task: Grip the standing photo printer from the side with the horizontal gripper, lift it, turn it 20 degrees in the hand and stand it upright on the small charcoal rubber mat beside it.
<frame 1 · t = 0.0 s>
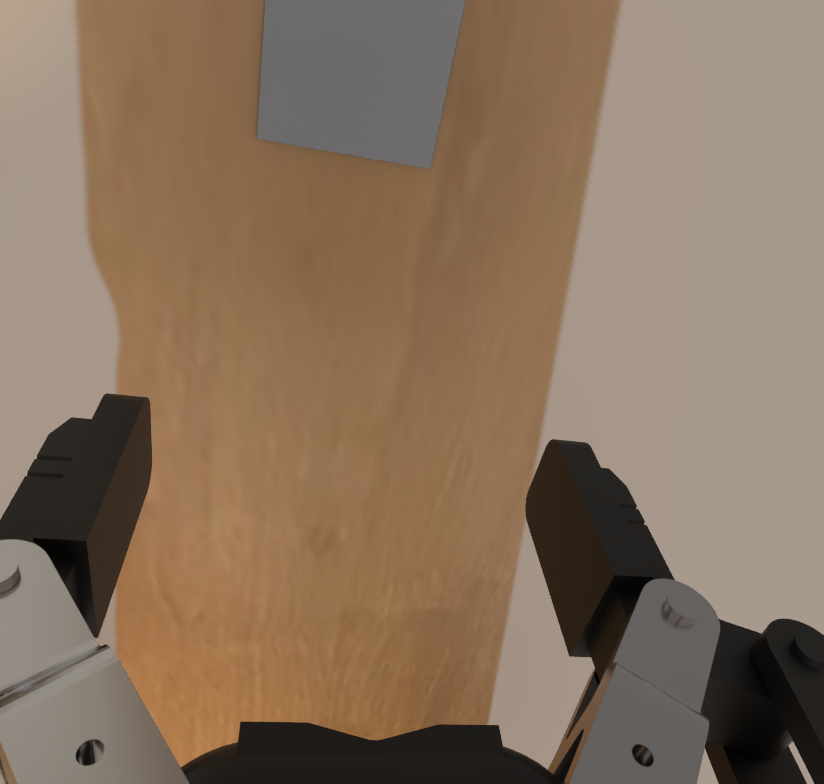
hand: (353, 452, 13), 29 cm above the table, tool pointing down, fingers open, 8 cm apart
rubber mat: (361, 37, 35), on the table
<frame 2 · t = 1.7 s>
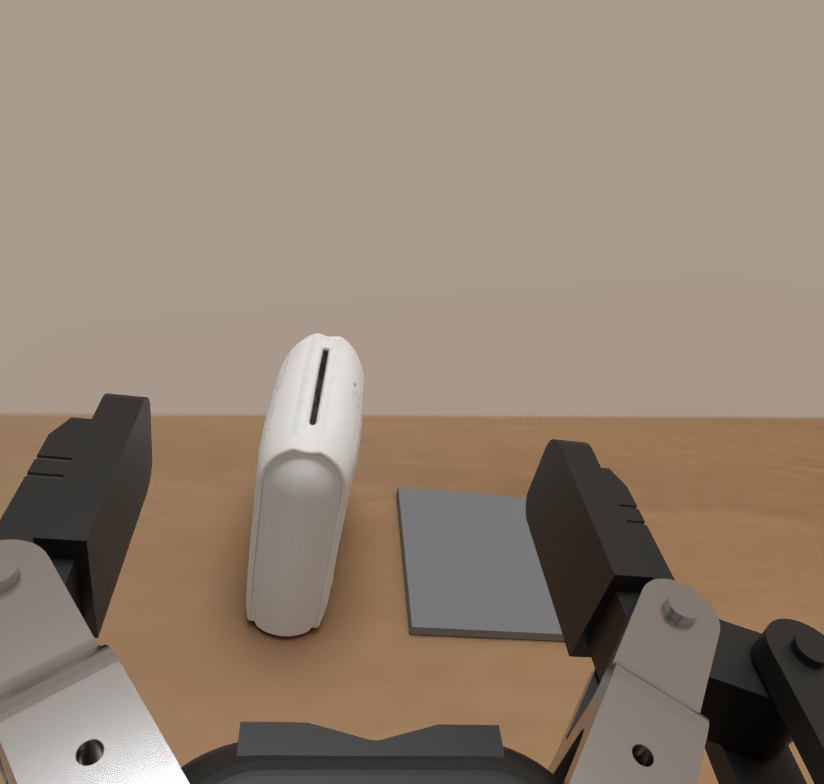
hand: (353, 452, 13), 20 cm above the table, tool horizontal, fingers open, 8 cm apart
rubber mat: (503, 563, 38), on the table
photo printer: (294, 559, 36), on the table
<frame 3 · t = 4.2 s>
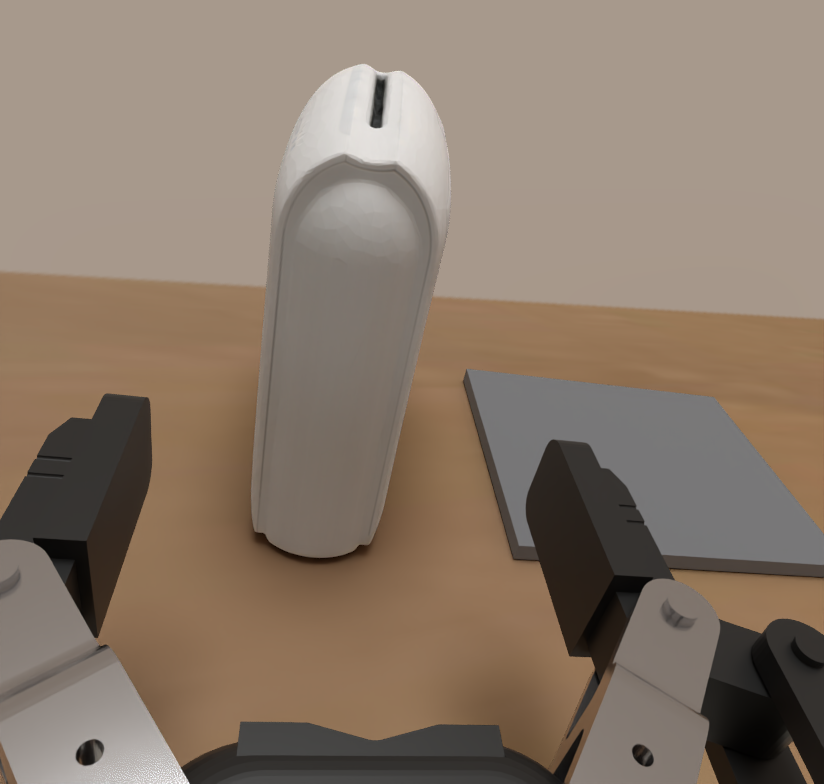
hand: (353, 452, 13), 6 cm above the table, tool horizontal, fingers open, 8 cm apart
rubber mat: (630, 467, 26), on the table
photo printer: (323, 454, 23), on the table
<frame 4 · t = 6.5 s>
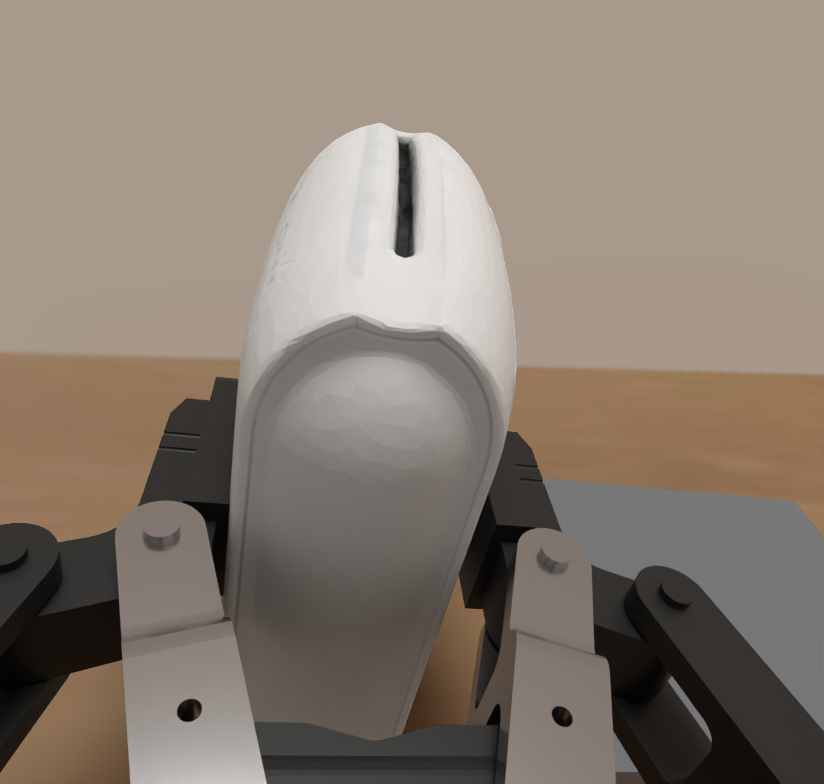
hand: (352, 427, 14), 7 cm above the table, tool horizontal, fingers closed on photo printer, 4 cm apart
rubber mat: (706, 613, 20), on the table
photo printer: (318, 613, 18), on the table, touching gripper
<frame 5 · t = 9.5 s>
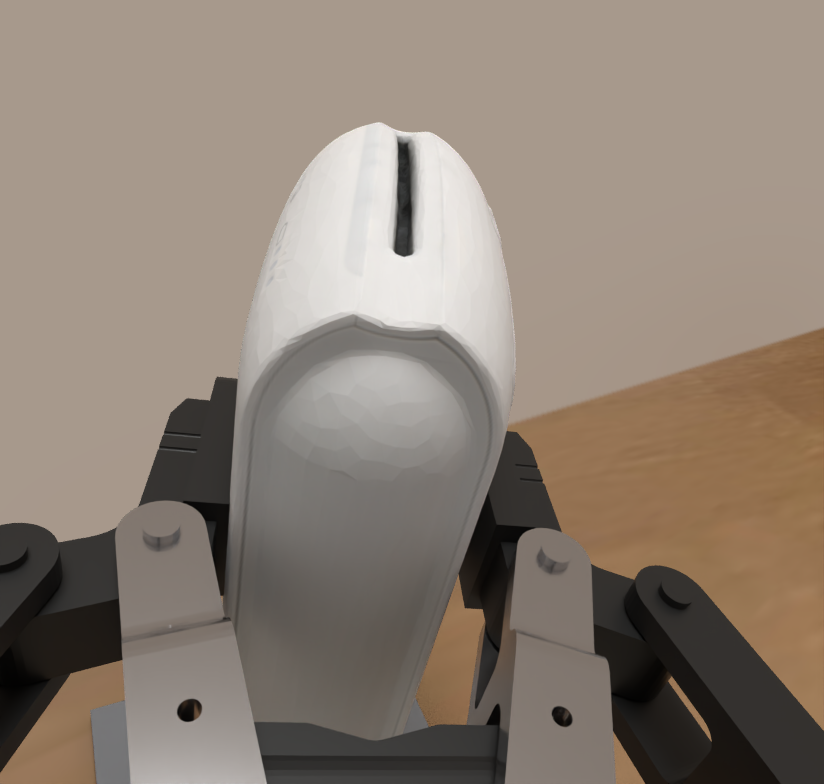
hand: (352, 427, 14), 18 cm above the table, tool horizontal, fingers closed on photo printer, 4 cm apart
photo printer: (319, 612, 18), point 11 cm above the table, touching gripper
when the fingers open (8 cm above the table, at t = 12.6 s): photo printer stays where it is, resting on rubber mat.
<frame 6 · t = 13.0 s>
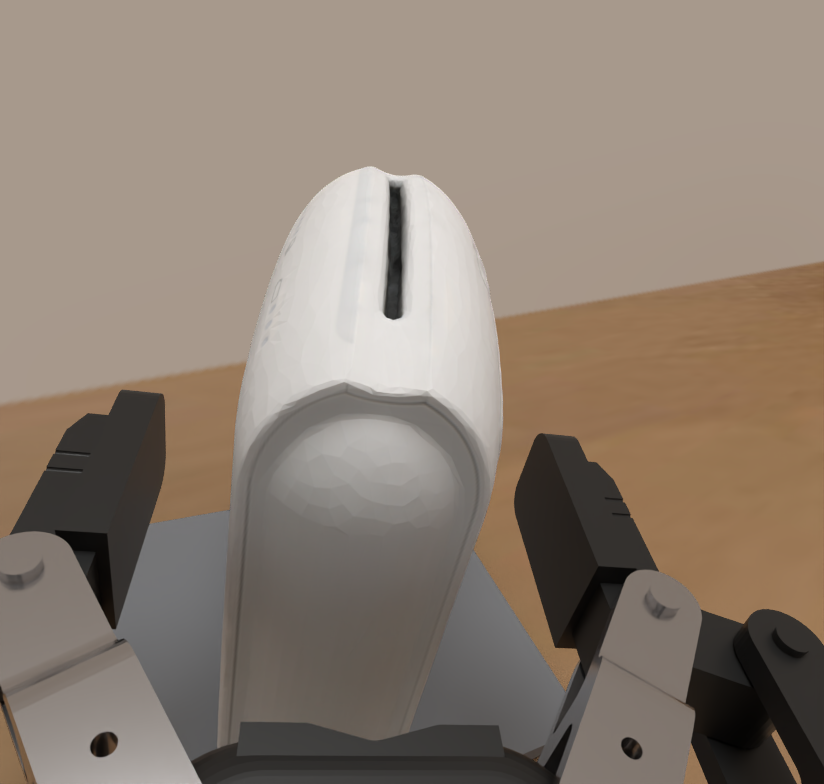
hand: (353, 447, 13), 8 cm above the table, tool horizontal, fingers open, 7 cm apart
rubber mat: (311, 641, 19), on the table
photo printer: (317, 636, 18), resting on rubber mat
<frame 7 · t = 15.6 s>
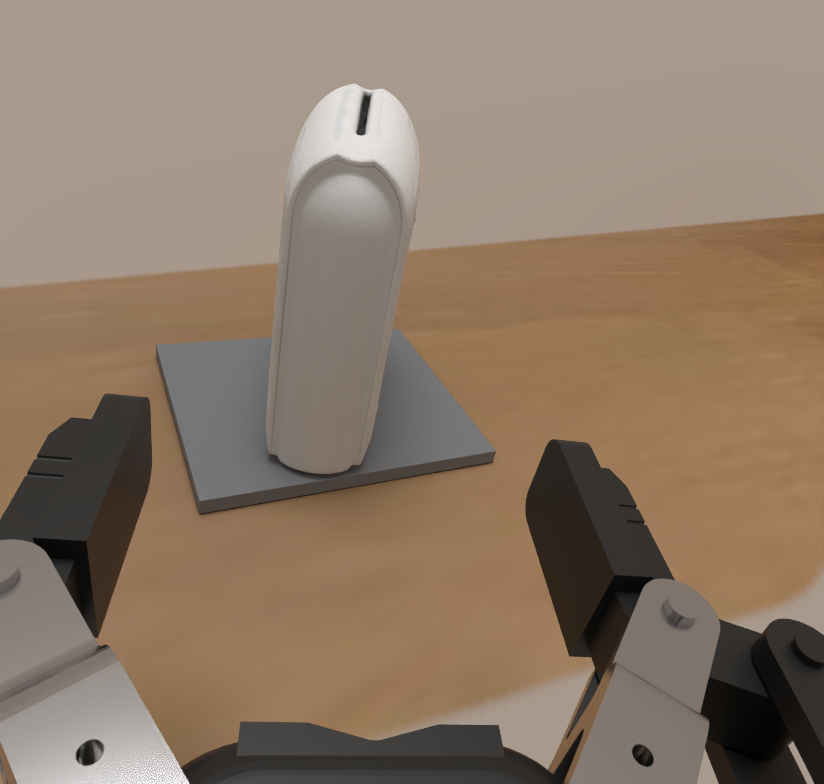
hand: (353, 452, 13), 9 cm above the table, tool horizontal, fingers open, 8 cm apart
rubber mat: (319, 407, 29), on the table
photo printer: (323, 402, 28), resting on rubber mat
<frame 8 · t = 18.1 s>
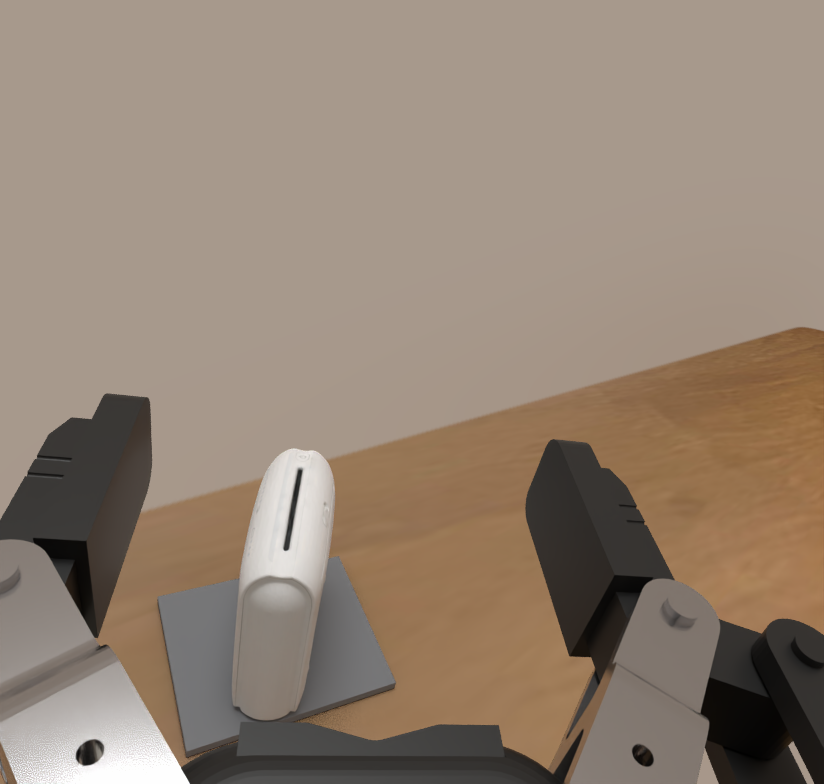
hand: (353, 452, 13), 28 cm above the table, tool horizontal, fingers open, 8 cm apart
rubber mat: (273, 644, 40), on the table
photo printer: (276, 642, 40), resting on rubber mat
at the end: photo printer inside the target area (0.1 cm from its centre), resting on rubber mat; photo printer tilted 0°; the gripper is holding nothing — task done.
